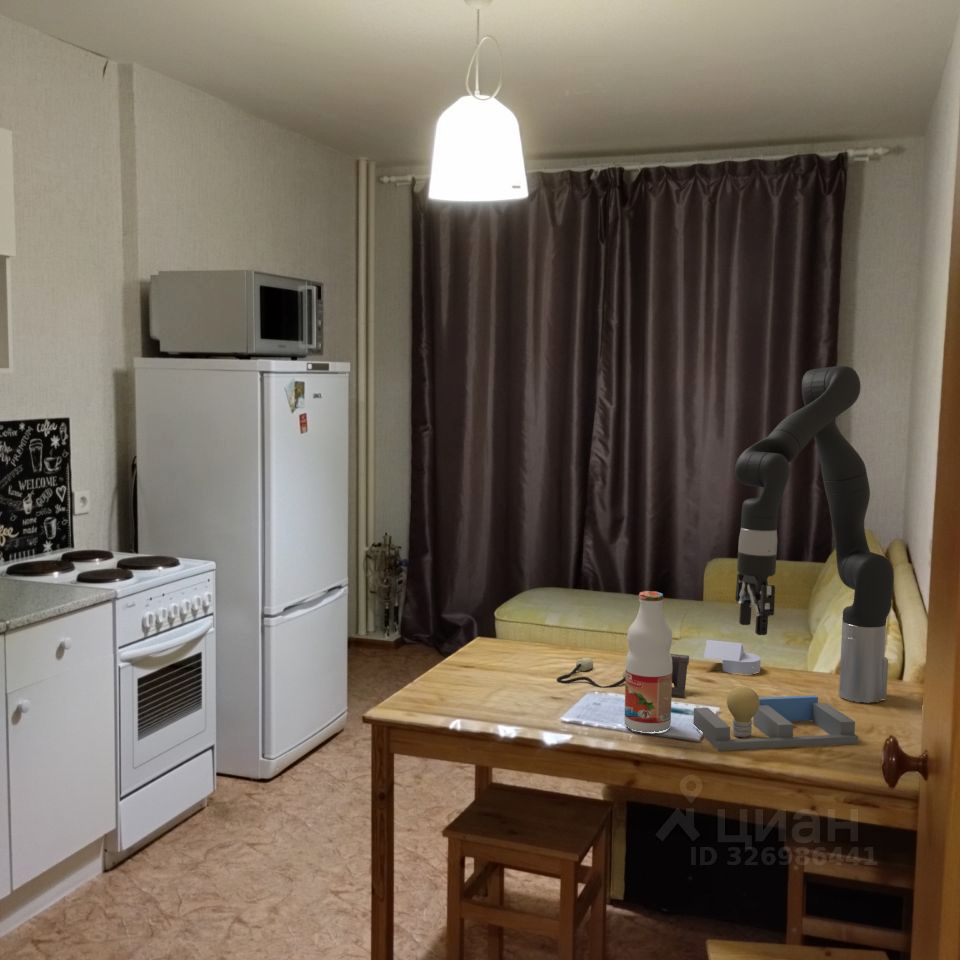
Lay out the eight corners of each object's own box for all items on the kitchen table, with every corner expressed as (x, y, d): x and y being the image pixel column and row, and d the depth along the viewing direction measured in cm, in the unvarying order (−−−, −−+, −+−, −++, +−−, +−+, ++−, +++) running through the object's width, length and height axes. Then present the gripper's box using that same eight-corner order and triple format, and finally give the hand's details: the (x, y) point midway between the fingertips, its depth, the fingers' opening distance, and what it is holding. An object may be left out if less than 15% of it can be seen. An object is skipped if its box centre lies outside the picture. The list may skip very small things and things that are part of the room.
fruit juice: (678, 733, 212) (682, 597, 209) (634, 736, 210) (638, 599, 207) (659, 718, 221) (663, 587, 218) (617, 721, 219) (620, 589, 216)
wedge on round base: (702, 671, 256) (757, 677, 251) (703, 644, 256) (758, 650, 251) (709, 661, 265) (762, 667, 260) (710, 635, 264) (763, 641, 259)
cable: (609, 696, 237) (610, 681, 237) (549, 683, 247) (549, 668, 247) (643, 680, 250) (643, 665, 249) (584, 668, 260) (584, 654, 259)
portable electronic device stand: (644, 694, 238) (645, 658, 237) (650, 684, 245) (651, 649, 244) (683, 698, 235) (684, 662, 234) (688, 688, 242) (690, 653, 241)
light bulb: (759, 742, 207) (761, 693, 206) (725, 739, 209) (727, 690, 208) (757, 731, 214) (759, 683, 213) (725, 728, 215) (726, 681, 214)
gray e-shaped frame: (821, 718, 222) (822, 695, 222) (857, 743, 207) (859, 719, 207) (690, 723, 218) (690, 700, 217) (717, 750, 203) (718, 725, 202)
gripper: (790, 557, 205) (784, 638, 207) (761, 545, 219) (756, 621, 221) (753, 556, 204) (748, 638, 206) (726, 544, 218) (722, 621, 220)
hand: (752, 629), depth 213 cm, fingers open, 8 cm apart
